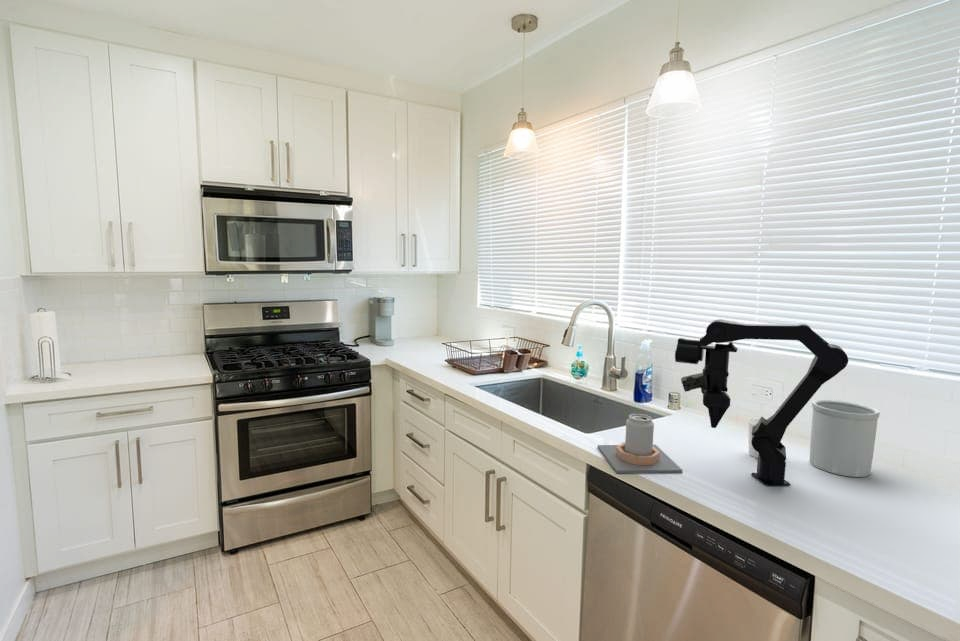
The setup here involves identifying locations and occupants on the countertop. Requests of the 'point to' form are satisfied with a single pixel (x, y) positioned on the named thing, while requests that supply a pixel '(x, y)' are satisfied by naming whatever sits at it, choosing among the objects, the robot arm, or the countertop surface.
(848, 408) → the utensil holder
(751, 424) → the white cup
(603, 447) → the seat plate
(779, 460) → the robot arm
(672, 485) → the countertop surface
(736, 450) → the countertop surface
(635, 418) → the can
